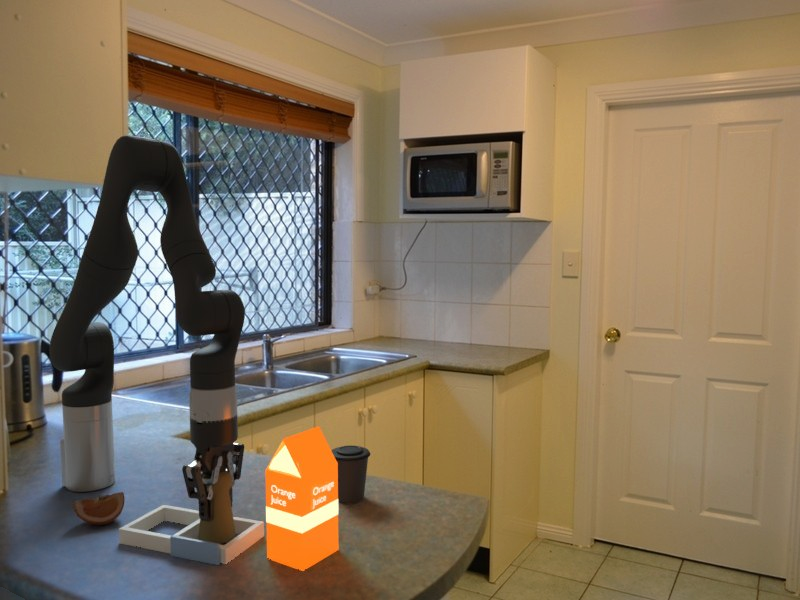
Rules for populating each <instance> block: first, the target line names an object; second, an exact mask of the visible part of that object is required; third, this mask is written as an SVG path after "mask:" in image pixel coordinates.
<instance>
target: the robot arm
mask: <svg viewBox="0 0 800 600" xmlns="http://www.w3.org/2000/svg"><path fill="white" fill-rule="evenodd" d="M104 174H105V175H104V179H103V183H102V184H103V185H102V187H101V193H100V197H99V202H98V203H99V204H98V206H97V210H96V213H95V216H94V220H93V223H92V226H91V229H90V233H89V235H88V238H87V240H86V243H85V246H84V249H83V252H82V255H81V258H80V261H79V265H78V268H77V272H76V276H75V279H74V281H73V285H72V287H71V291H70V294H69V296H68V297H67V298H68V299H67V301H66V303H65V305H64V308H63V309H62V312H61V313H60V315H59V318H58V319H57V322H56V325H55V326H54V329H53V332H52V334H51V338H50V340H49V341H50V342H49V348H48V349H49V350H48V351H49V352H48V353H49V359H50V362H51V364H52V366H53V367H54V369H56V370H58V371H60V372H77V371H83V370H84V373H83V374H82V375H81V376H80V378H79V379H77V380H76V381H75V382H73V383H72V384H70V385H69V386H67V387H66V388H64V389H63V391H62V392H61V406H62V407H61V408H62V409H61V410H62V424H63V427H62V428H63V439H61V440H60V463H61V481H62V485H61V486H62V487H65V488H66V489H67V490H68V491H72V492H76V493H77V492H78V493H79V492H81V493H83V492H93V491H98V490H102V489H105V488H107V487H110V486H112V485H113V484H114V483H116V471H115V469H116V467H115V446H114V445H115V443H114V422H113V421H114V420H113V418H114V417H113V397H112V395H113V394H112V392H113V389H114V384H115V376H114V375H115V371H114V370H115V342H114V337H113V333H112V332H111V329H110V328H109V326H108V325H107V324H105V323H104V322H100V321H99V322H98V321H95V322H92V321H93V320H94V319H95V318H96V317H97V315H98V314H100V312H101V311H102V310H104V309H105V308H106V307H107V306H108V305H109V304H110V303H112V301H114V300H115V299H116V298H117V297H118V296H119V295H120V294H121V293H122V292H123V291H124V290H125V288H126V287H127V285H128V284H129V282H130V280H131V277H132V274H133V271H134V269H135V266H136V263H137V261H138V257H139V247H138V243H137V240H136V239H137V238H136V236H135V234H134V231H133V229H132V227H131V223H130V221H129V215H128V207H129V202H130V198H131V197H132V194H133V192H134V191H141V192H152V193H159V194H160V195H161V197H162V199H163V200H164V202H165V204H166V208H167V209H166V210H167V211H166V216H165V218H164V222H163V225H162V229H161V231H160V238H159V239H160V241H159V242H160V243H159V244H160V250H161V252H162V255H163V258H164V261H165V263H166V266H167V268H168V271H169V273H170V275H171V278H172V283H173V290H174V299H175V315H176V321H177V323H178V326H179V327H180V328H181V329H182V331H184V333H186V334H187V335H189V336H191V337H202V336H209V335H213V338H212V339H211V341H210V343H209V344H208V345H206V346H204V347H202V348H199V349H198V350H195V351H194V352H192V354H191V355H190V358H189V376H190V377H189V378H190V393H189V400H188V401H189V403H188V404H189V431H190V432H189V433H190V434H189V436H190V437H189V441H190V442H191V444H192V445H193V446H194V448H195V454H194V458H193V459H194V461H192V462H191V463H190V464H184V465H183V466H182V471H181V472H182V475H183V479H184V483H185V487H186V491H187V495H188V498H189V499H195V500H198V511H199V517H200V519H201V520H202V521H207V522H210V521H212V520H213V519H214V511H213V498H212V496H213V486H214V485H215V484H217V482H218V476H219V473H221V472H223V471H227V472H229V473H230V475H231V477H232V485H231V488H230V489H229V495H230V501H231V507H232V508H233V495H234V494H233V488H234V485H235V481H237V480H240V479H241V476H242V468H243V462H244V461H243V460H244V454H245V453H244V452H245V444H243V443H238V442H236V441H237V440H238V438H239V426H238V425H239V424H238V421H239V420H238V419H239V418H238V396H237V390H236V365H235V364H236V363H235V361H236V357H237V353H238V348H239V344H240V340H241V335H242V332H243V327H244V323H245V315H246V310H245V309H246V308H245V305H244V302H243V300H242V298H241V297H240V295H239V294H238V293H237V292H235V291H234V290H232V289H220V290H219V289H216V290H203V291H202V290H200V289H202V288H204V287H206V286H207V285H209V284H210V283H212V281H214V279H215V277H216V275H217V269H216V266H215V262H214V260H213V258H212V256H211V254H210V253H211V252H210V251H209V249H208V247H207V245H206V242H205V241H204V238H203V236H202V232H201V231H200V228H199V225H198V221H197V218H196V214H195V210H194V209H195V208H194V206H193V205H194V204H193V201H192V196H191V191H190V188H189V182H188V180H187V176H186V175H187V174H186V171H185V167H184V163H183V161H182V158H181V155H180V153H179V151H178V150H177V148H176V147H175V146H174V144H173V143H170V142H168V141H165V140H161V139H154V138H149V137H143V136H137V135H127V134H126V135H122V136H120V137H119V138H118V139H116V140H115V142H114V144H113V146H112V149H111V152H110V154H109V157H108V160H107V166H106V169H105V173H104ZM234 465H235V467H234ZM203 475H204V476H211V479H205V478H203ZM203 483H204V484H207V491H205V489H204V484H203Z"/></svg>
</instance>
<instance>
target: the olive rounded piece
mask: <svg viewBox="0 0 800 600" xmlns="http://www.w3.org/2000/svg"><path fill="white" fill-rule="evenodd" d="M203 478H205V479H211V476H204V475H203ZM203 484H204V483H203ZM231 485H232V477H231V475H230V473H229V472H227V471H223V472H221V473H219V476H218V482H217V484H215V485H214V486H213V496H212V498H213V511H214V519H213V520H212V521H210V522H207V521H202V520H201V519H200V525H199V534H198V538H197V540H202V541H208V542H213V543H218V544H220V545H222V544H224V543H228V542H230V541H231V540H232V539H234V538H235V537H236V536H237V534H236V533H235V526H234V520H233V517H234V515H233V509H232V508H233V506H232V507H231V501H230V495H229V489H230V488H231ZM204 489H205V491H207V484H204Z"/></svg>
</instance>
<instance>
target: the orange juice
mask: <svg viewBox="0 0 800 600" xmlns="http://www.w3.org/2000/svg"><path fill="white" fill-rule="evenodd" d="M331 450H332V449H331V447H330V445H329V444H328V442H327V439H326V437H325V435H324V433H323V431H322V429H321V427H320V426H319V425H318V426H316V427H312V428H310V429H307V430H305V431H301V432H299V433H296V434H293V435H290V436H287V437H284V438H282V441H281V443H279V447H278V448H277V449H276V451H275V453H274V455H273V457H272V458H271V460H270V462H269V464H268V465H267V467H266V469H265V470H264V471H265V523H266V559H267V558H269V559H268V560H270V559H271V561H273V562H275V563H276V562H277V563H278V564H282V565H284V566H287V567H290V568H293V569H295V570H298V569H299V571H302V572H304V571H306V570H307V569H309V568H310V567H313V566H314V565H316V564H317V563H319V562H321V561H323V560H324V559H325V558H327V557H329V556H330V555H332V554H334V553H335V552H337V551H339V550H340V549H339V548H340V547H339V502H338V463H337V461H336V459H335V457H334V455H333V453H332V451H331ZM305 569H306V570H305Z"/></svg>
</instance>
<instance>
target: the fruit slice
mask: <svg viewBox="0 0 800 600" xmlns="http://www.w3.org/2000/svg"><path fill="white" fill-rule="evenodd" d="M125 499H126V498H125V493H124V492H123V491H121V492H116V493H115V492H114V493H112V494H105V495H99V496H98V497H96V498H86V499H79V500H73V502H72V504H73V510H72V511H73V512H74V513H75V515H76V517H77V518H79V519H80V520H82V521H83V522H86V524H90V525H95V526H104V525H108V524H110V523H112V522H113V521H115V520H117V519H118V517H119V516H120V515H121V514H122V512H123V509H124V505H125Z"/></svg>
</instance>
